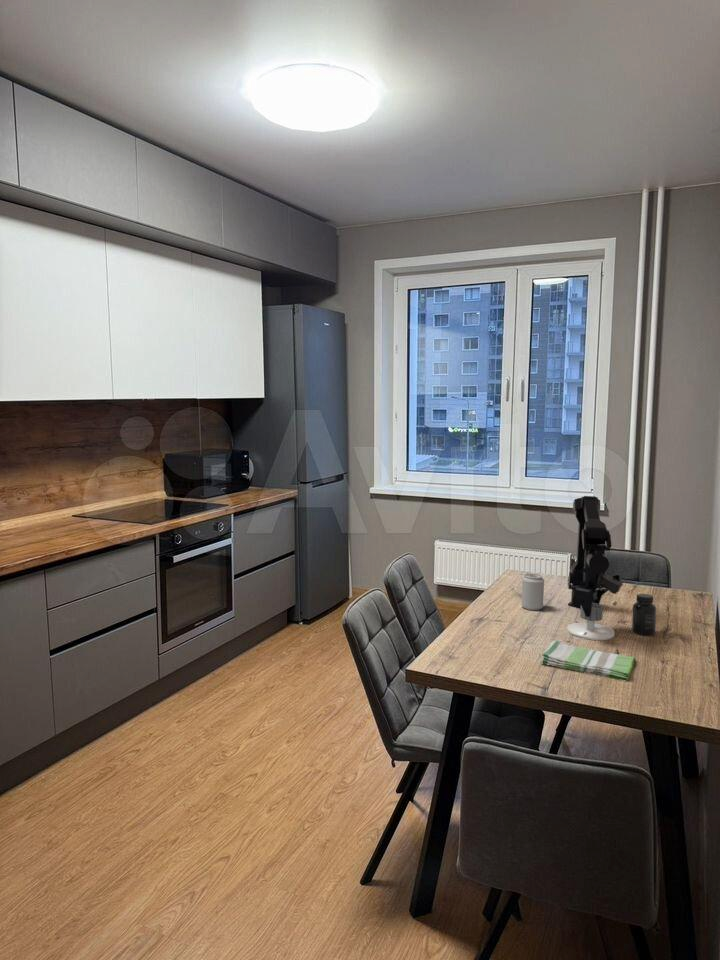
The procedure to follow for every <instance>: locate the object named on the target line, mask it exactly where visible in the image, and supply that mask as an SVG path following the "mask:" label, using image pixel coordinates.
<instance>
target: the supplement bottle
mask: <svg viewBox="0 0 720 960" xmlns="http://www.w3.org/2000/svg"><path fill="white" fill-rule="evenodd" d="M635 601H636V602H634V603H633V605H632V616H631V617H632V618H631V619H632V621H631V622H632V623H631V631H632V632H633V633H634V634H636V635H639V636H653V635H655V633H656V627H657V626H656V624H657V623H656V622H657V607H656V605H655V604H653V603H654V596H653V595H652V594H648V593H637V594H636V600H635Z"/></svg>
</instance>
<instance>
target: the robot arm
mask: <svg viewBox="0 0 720 960" xmlns="http://www.w3.org/2000/svg"><path fill="white" fill-rule="evenodd" d="M572 503H573V504H572V511H573V512H574V515H575V516H574V517H575V518H576V520H577V522H578V526H577V527H578V528H577V544H576V545H577V546H576V558H575V561H574V562H573V564H572V565H570V566H571V567H570V572H568V578H567V588H568V590H571V599H570V602H568V603H567V606H571V607H577V608H580V609H581V606H582V608H583V611H584V613H585V615H586V617H590V613H591V609H592V604H593V603H597V604H600V603H601V600H602V598H603V595H605V593H607V592H610V593H611V594H613V595H616V594H617V593H619V592H620V590H621V588H622V586H623V585H624V583H623V580H622V576H621V575H620V574H618V573H616V574H614V575H609V574H607V571H608V569H609V568H610V567H609V566H610V562H609V558H607V556H606V554H605V551H606V552H610V550H611V548H612V537H611V533H610V531H609V529H607V526H606V523H605V522H603V521H602V520H601V518H600V511H601V499H599V498H598V497H597V496H593V495H589V496H588V495H584V496H581V497H577V498H575V499H574V500H573V502H572Z"/></svg>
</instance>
